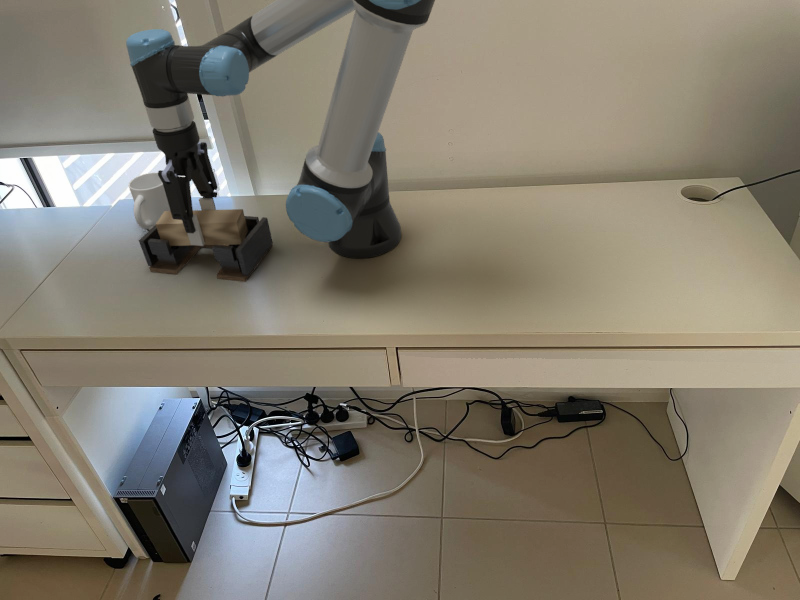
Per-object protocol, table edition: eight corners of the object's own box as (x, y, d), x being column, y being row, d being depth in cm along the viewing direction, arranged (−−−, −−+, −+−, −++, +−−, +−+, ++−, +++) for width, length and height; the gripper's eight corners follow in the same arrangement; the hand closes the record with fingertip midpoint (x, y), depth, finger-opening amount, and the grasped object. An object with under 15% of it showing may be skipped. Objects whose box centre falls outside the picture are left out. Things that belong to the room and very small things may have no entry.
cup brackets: (274, 245, 133) (268, 216, 129) (247, 281, 123) (239, 251, 119) (181, 237, 138) (172, 209, 134) (148, 271, 128) (137, 241, 124)
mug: (161, 241, 137) (146, 199, 131) (127, 239, 139) (111, 197, 133) (187, 213, 147) (174, 172, 140) (155, 212, 148) (141, 171, 142)
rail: (248, 230, 129) (242, 209, 126) (241, 244, 125) (236, 222, 122) (171, 232, 130) (164, 211, 127) (162, 245, 126) (155, 224, 123)
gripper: (181, 104, 121) (211, 211, 135) (124, 145, 107) (164, 260, 121) (217, 105, 120) (243, 213, 134) (163, 147, 105) (199, 263, 119)
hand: (205, 235), depth 127 cm, fingers closed on rail, 6 cm apart
